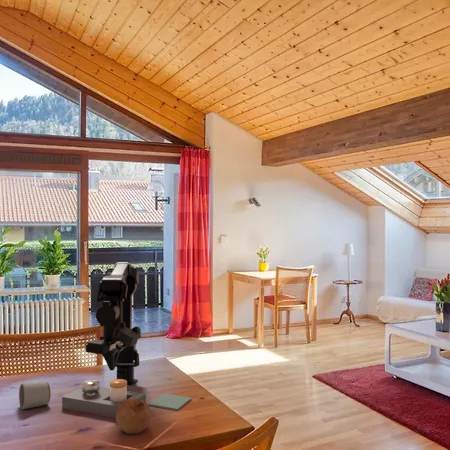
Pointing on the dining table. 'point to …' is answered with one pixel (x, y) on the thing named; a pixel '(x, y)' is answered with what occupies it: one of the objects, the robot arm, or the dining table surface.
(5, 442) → the dining table surface
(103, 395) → the housing
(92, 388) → the plunger
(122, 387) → the small lidded jar
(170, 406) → the mat
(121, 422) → the onion
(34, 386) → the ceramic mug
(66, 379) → the dining table surface
